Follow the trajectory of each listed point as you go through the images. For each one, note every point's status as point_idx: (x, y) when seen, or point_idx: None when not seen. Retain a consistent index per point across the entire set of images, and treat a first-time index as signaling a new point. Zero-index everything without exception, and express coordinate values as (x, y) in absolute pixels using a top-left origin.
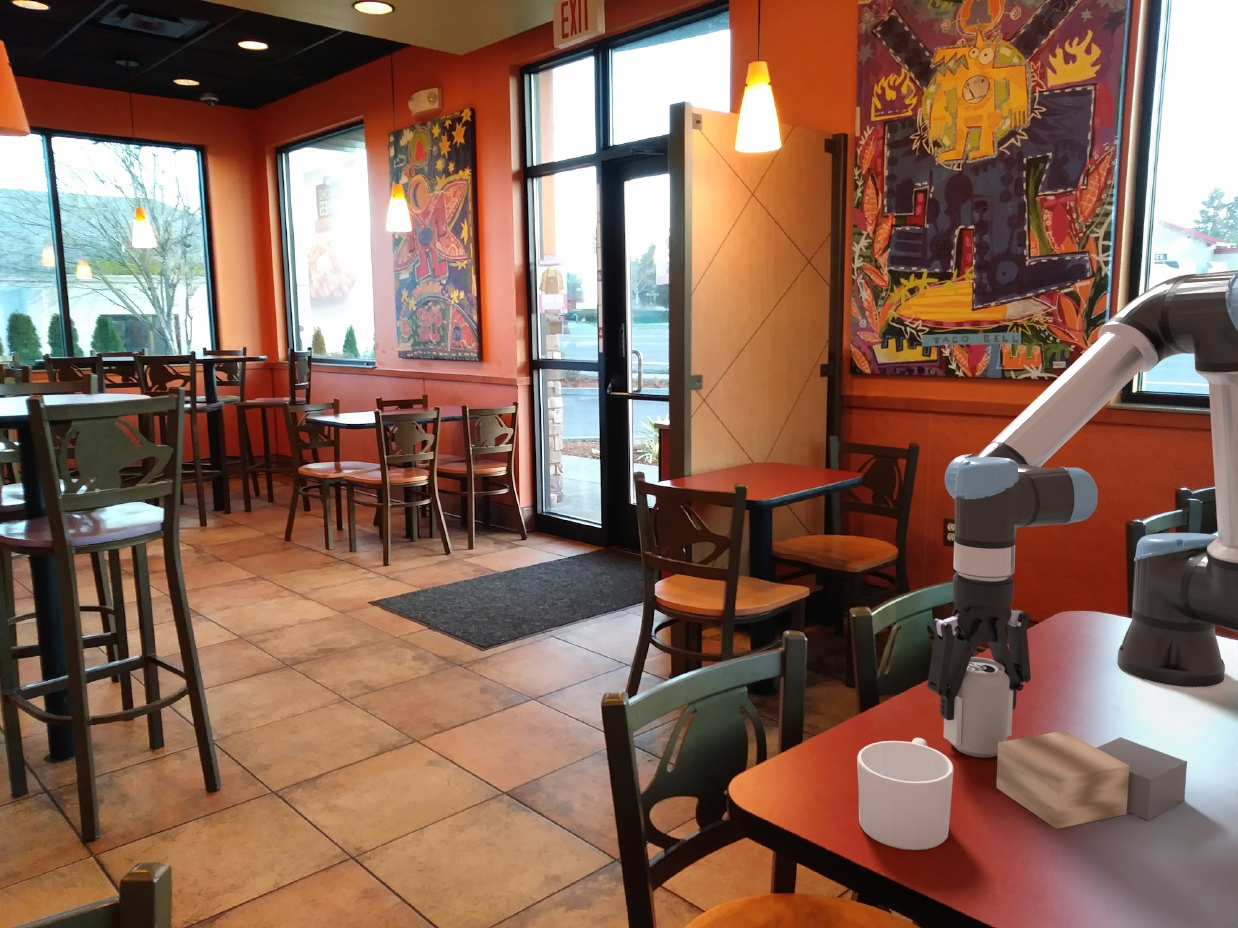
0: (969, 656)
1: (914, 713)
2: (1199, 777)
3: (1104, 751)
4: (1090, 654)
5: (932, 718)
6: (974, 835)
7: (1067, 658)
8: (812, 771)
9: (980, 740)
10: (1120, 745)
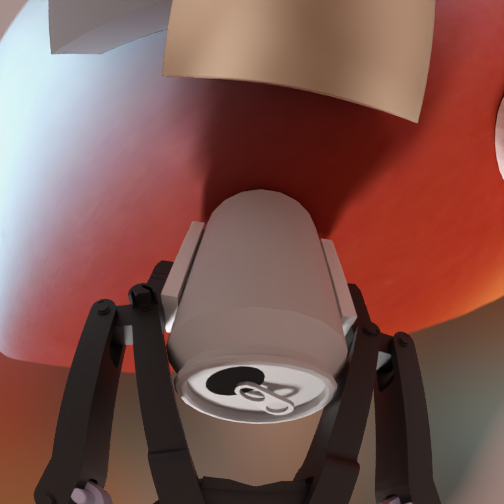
0: (338, 437)
1: None
2: (23, 35)
3: None
4: (3, 321)
5: None
6: (491, 61)
7: (19, 328)
8: (483, 280)
9: (304, 218)
10: (83, 13)
